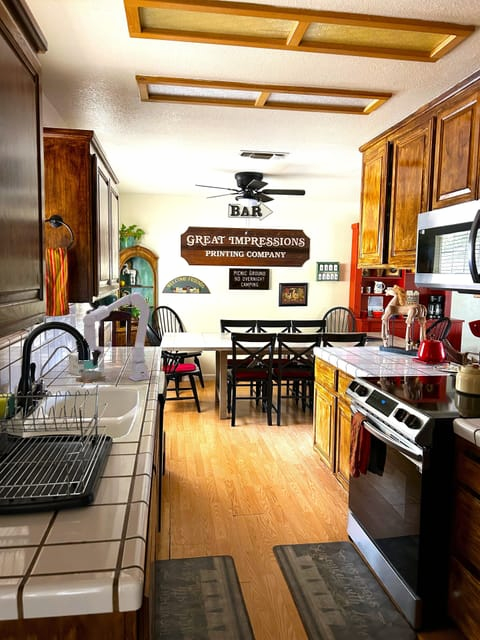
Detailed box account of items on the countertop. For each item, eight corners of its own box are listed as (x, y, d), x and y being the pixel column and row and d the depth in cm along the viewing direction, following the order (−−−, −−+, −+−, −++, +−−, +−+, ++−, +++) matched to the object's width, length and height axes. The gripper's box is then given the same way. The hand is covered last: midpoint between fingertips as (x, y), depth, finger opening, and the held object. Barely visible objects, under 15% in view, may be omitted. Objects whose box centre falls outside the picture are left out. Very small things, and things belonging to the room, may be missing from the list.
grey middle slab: (101, 376, 242) (101, 371, 242) (90, 379, 236) (90, 374, 236) (92, 374, 246) (92, 370, 246) (81, 377, 240) (81, 372, 240)
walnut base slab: (105, 381, 243) (105, 376, 243) (89, 385, 235) (89, 380, 234) (91, 379, 248) (91, 374, 248) (76, 382, 240) (75, 377, 240)
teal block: (98, 367, 243) (97, 359, 242) (92, 369, 238) (92, 361, 238) (89, 366, 244) (89, 359, 244) (83, 368, 239) (83, 360, 239)
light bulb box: (89, 373, 258) (89, 354, 257) (78, 375, 254) (77, 355, 253) (79, 371, 266) (79, 351, 265) (68, 373, 261) (67, 353, 260)
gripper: (107, 337, 241) (107, 364, 242) (82, 336, 245) (82, 362, 246) (99, 339, 234) (99, 366, 236) (73, 338, 239) (74, 365, 240)
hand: (90, 365), depth 241 cm, fingers closed on teal block, 5 cm apart
